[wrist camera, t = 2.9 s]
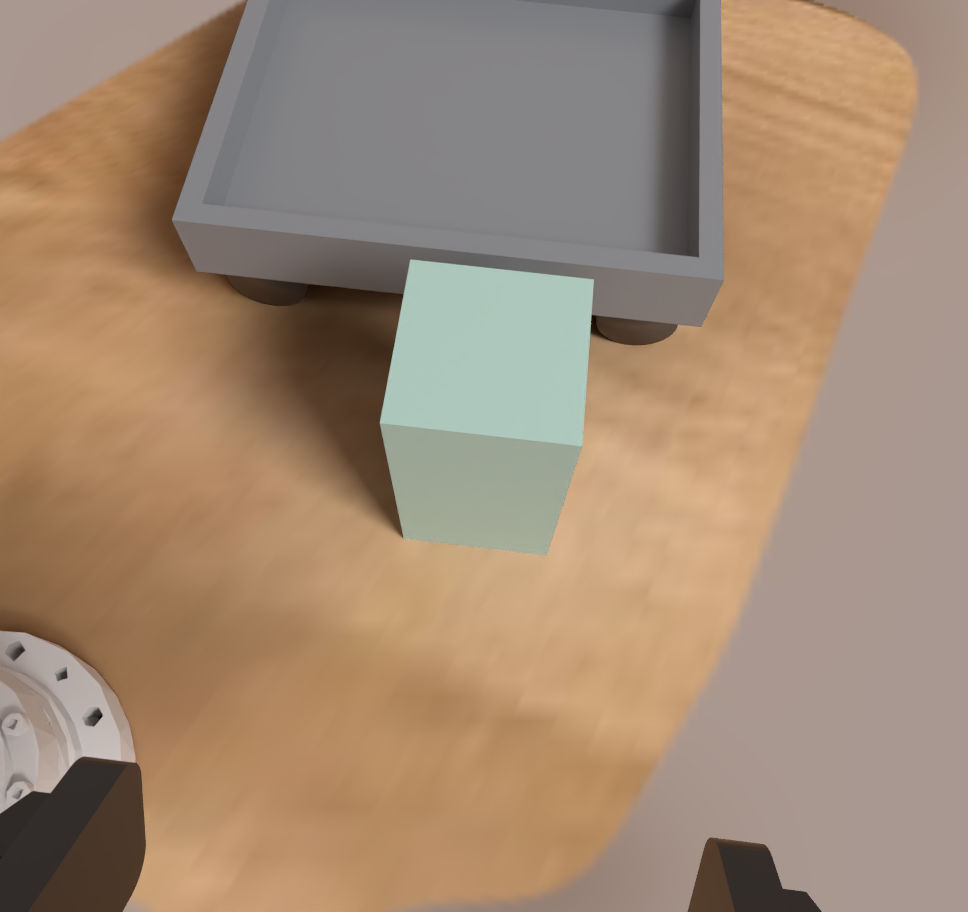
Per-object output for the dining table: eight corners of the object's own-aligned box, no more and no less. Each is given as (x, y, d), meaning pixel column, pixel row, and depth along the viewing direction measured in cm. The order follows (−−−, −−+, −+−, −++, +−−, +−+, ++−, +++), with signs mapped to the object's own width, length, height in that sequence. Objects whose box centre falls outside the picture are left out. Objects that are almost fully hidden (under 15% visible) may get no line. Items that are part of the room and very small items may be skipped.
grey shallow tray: (219, 318, 31) (171, 220, 26) (299, 50, 38) (273, -73, 32) (679, 370, 31) (723, 280, 26) (684, 90, 37) (720, -28, 32)
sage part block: (403, 538, 28) (379, 423, 20) (424, 411, 30) (410, 259, 22) (546, 555, 28) (582, 446, 20) (557, 426, 30) (594, 279, 22)
